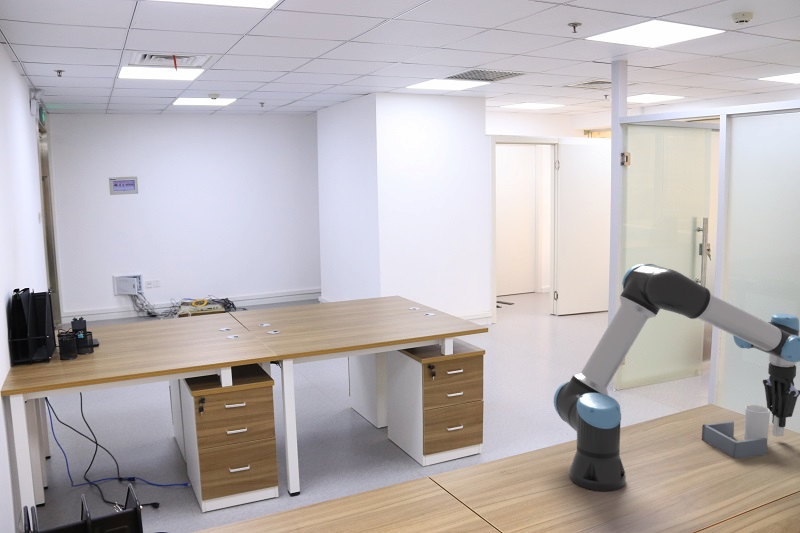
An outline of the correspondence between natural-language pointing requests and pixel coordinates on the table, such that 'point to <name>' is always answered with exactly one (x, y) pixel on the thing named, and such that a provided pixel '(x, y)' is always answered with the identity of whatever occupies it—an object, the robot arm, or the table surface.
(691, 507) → the table surface
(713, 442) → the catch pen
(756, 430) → the mug
